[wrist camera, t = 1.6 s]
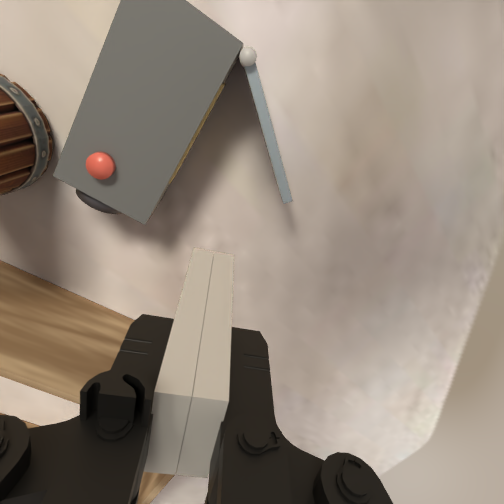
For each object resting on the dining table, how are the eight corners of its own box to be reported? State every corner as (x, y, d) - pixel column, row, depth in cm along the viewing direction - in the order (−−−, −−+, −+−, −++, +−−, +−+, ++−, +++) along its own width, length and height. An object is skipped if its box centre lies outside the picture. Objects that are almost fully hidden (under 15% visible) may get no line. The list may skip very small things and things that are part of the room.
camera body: (156, -15, 27) (131, -42, 21) (244, 50, 29) (245, 43, 23) (78, 170, 33) (42, 191, 27) (155, 212, 35) (138, 240, 29)
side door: (237, 54, 29) (237, 49, 24) (251, 49, 29) (253, 43, 24) (275, 186, 34) (281, 206, 29) (287, 182, 34) (295, 202, 29)
